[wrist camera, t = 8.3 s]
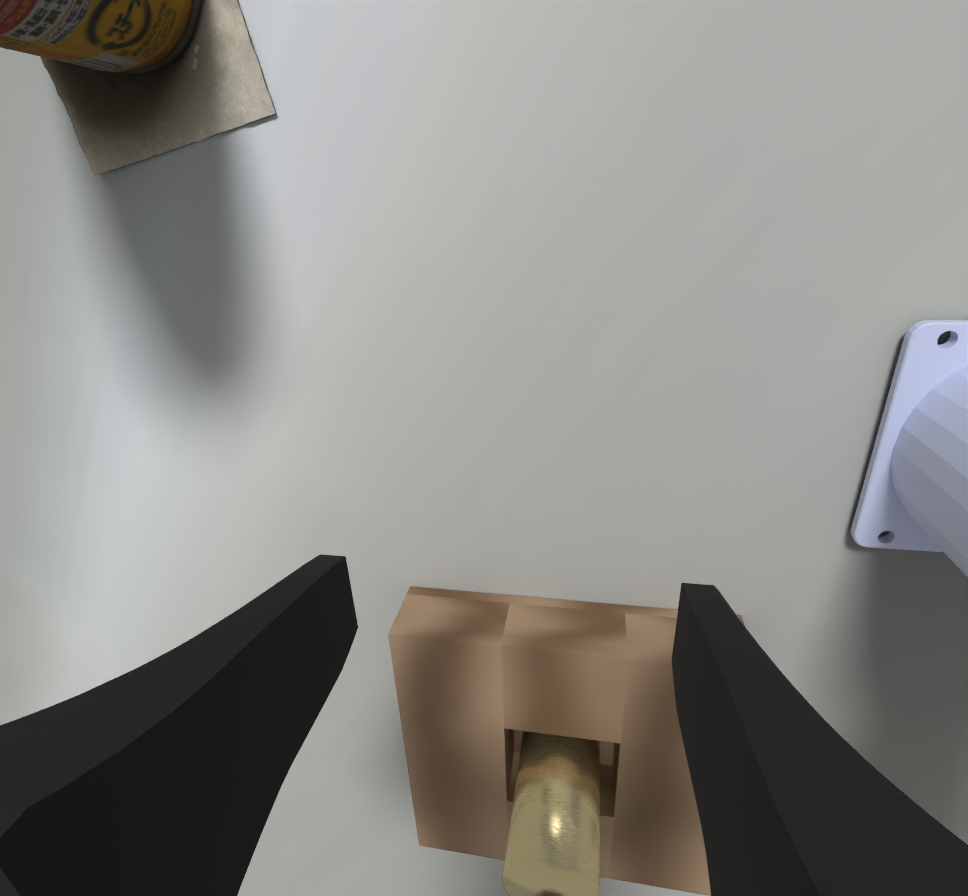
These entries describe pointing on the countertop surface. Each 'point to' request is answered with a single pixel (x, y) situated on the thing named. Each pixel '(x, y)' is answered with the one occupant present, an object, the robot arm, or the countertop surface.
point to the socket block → (546, 722)
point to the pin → (555, 818)
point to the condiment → (142, 70)
